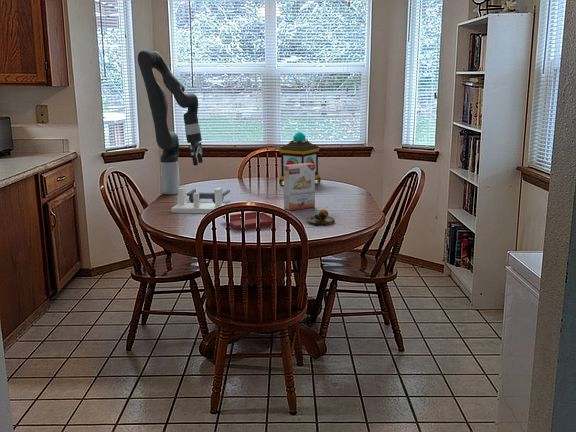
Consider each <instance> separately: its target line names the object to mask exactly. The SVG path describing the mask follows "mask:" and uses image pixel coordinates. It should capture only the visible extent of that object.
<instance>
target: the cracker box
mask: <svg viewBox="0 0 576 432" xmlns="http://www.w3.org/2000/svg"><path fill="white" fill-rule="evenodd" d="M315 207H316V180H315V164H312V163H302V164H291V165H284V181H283V208H284V210H285V209H286V210H288V211H296V210H297V211H298V210H305V209H311V208H315Z"/></svg>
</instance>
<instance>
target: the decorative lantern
mask: <svg viewBox="0 0 576 432" xmlns="http://www.w3.org/2000/svg"><path fill="white" fill-rule="evenodd" d="M278 150H279V153H280V164H281V165H280V169H281V174H280V177H279V180H278V184H279V185H280V186H283V182H284V165H291V164H302V163H312V164H315V181H317V182H316V183H317V184H320V183H321V176H320V173H319V151H320V147H319V146H318V145H317V144H314V143H312V142H311V141H309V139H307V138H306V135H305V134H304V133H303V132H301V131H297V132H296V133H295V134H294V135H293V136H292V140H290V141H289V142H288V143H287V144H285V145H282V146H280V148H279V149H278Z"/></svg>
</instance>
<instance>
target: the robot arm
mask: <svg viewBox="0 0 576 432" xmlns="http://www.w3.org/2000/svg"><path fill="white" fill-rule="evenodd" d="M137 54H138V55H137V64H138V67H139V70H140V74H141V76H142V79H143V83H144V87H145V90H146V95H147V99H148V104H149V108H150V111H151V115H152V121H153V125H154V134H155V141H156V144H157V146H158V147H159V149H161V150H162V154H161V156H160V159H159V160H160V168H161V169H160V173H161V175H160V178H159V179H160V180H159V181H160V191H161V192H160V193H161V194H162V195H178V189H179V188H180V187H181V186H180V172H179V155H180V143H179V142H180V140H179V137H178V134H177V133H176V132H174V131H172V130H169V126H168V111H169V105H168V99H167V94H166V93H165V90H164V88H163V86H161V84H160V83H159V82H158V81H157V79H156V77H155V74H154V72H153V69H155V70H156V71H158V72H159V73H160V75H161V77H162V82H163V84H164V86H165V88H167V90H168V91H169V92H170V93H171V94H172V95H173V97H174V99H175V101H176V104H177V105H178V106H179V107H180V108H182V109H187V111H186V112H185V113H183V121H184V131H185V137H186V142H187V144H190V145H188V150H189V151H188V152H189V157H190V159H192V165H193V166H195V167H196V166H198V165H199V164H202V163H203V162H204V161H203V154H204V152H203V145H202V141H203V140H202V134H201V127H200V123H199V117H198V113H199V112H198V110H199V99H198V98H199V97H198V96H197V94H195V93H194V92H186V93H185V86H184V85H183V83H182V82H181V80H179V79H178V77H176V76H175V75H174V73H173V72H172V71H171V69H170V68H169V66H168V64H167V63H166V62H165V60H164V58H163V57H162V55H161V54H160V53H159V52H158V51H156V50H141V51H139V52H138V53H137Z"/></svg>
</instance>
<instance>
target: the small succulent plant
mask: <svg viewBox="0 0 576 432" xmlns="http://www.w3.org/2000/svg"><path fill="white" fill-rule="evenodd" d="M327 207H328V206H326V208H325V209H324V208H321V209H319V212H317V214H314V216H310V217H307V218H306V220H307V221H308V222H309V223H311V224H315V225H317V226H318V227H322V226H324V225H326V226H331V225H332V224H333V225H334V224H335V222H336V220H335V218H334V217H332V216H329V212H328V211H327Z"/></svg>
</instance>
